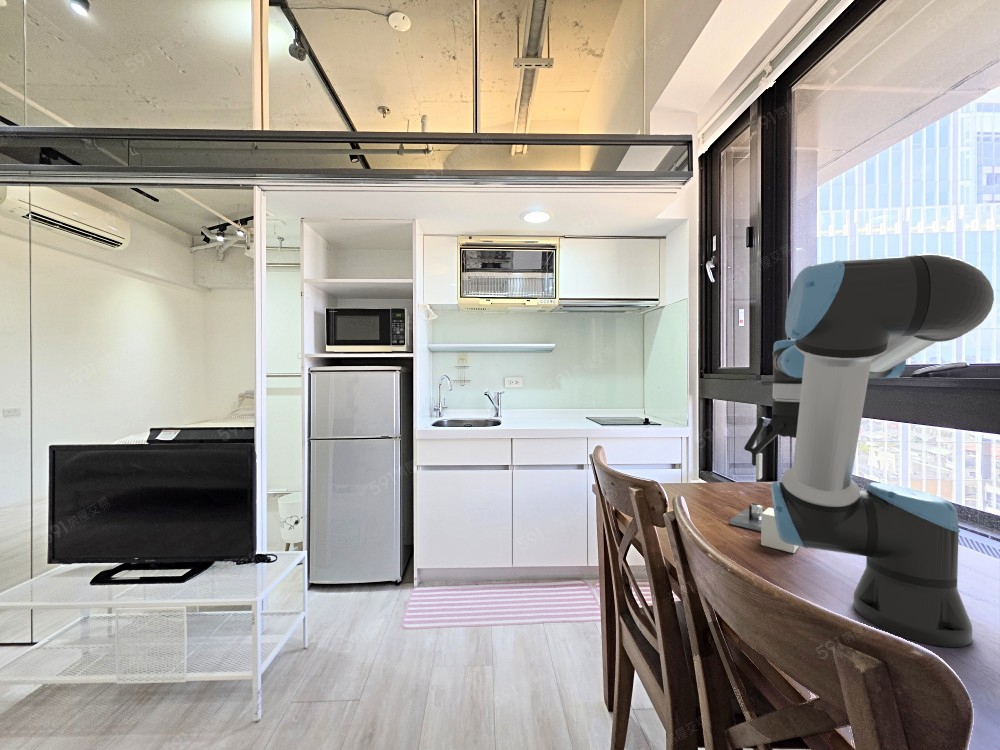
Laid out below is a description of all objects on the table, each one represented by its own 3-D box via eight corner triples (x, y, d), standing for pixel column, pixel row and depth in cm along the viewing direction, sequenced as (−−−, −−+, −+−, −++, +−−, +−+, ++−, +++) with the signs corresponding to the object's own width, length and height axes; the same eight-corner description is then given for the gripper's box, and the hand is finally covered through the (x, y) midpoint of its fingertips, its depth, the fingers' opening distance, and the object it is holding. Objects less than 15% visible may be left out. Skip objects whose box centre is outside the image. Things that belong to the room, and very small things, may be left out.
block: (794, 553, 103) (794, 517, 103) (761, 544, 108) (761, 511, 108) (800, 544, 109) (801, 510, 109) (769, 536, 114) (769, 504, 113)
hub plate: (787, 537, 113) (787, 517, 113) (729, 523, 123) (730, 505, 123) (798, 524, 123) (798, 505, 123) (744, 512, 133) (744, 495, 133)
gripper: (855, 402, 102) (854, 490, 102) (741, 397, 120) (740, 472, 121) (850, 403, 97) (849, 496, 97) (732, 398, 115) (731, 476, 115)
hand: (788, 483), depth 109 cm, fingers open, 13 cm apart
